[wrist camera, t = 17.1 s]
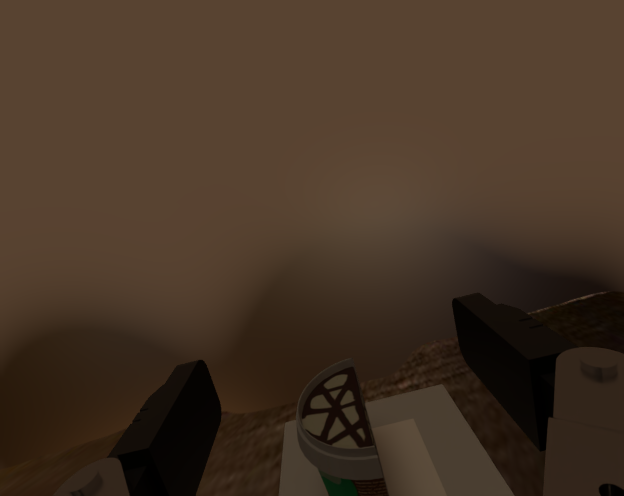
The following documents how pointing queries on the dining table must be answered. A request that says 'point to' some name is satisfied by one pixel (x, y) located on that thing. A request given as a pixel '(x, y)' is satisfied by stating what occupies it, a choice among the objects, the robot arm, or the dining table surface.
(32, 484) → the dining table surface
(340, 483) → the food container
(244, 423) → the dining table surface
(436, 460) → the dock
